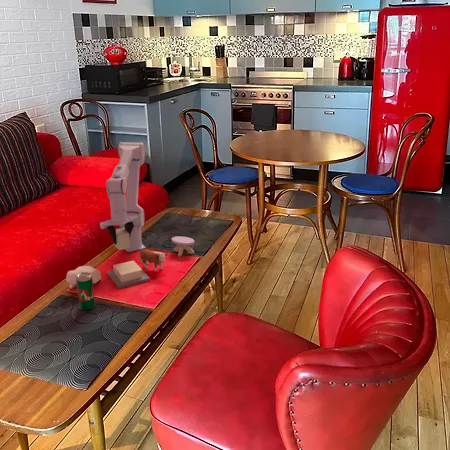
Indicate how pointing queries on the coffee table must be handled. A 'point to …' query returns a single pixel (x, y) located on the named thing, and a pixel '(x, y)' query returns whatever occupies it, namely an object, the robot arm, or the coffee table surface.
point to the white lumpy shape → (73, 274)
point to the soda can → (85, 291)
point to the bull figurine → (152, 258)
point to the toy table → (183, 244)
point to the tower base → (118, 283)
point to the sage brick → (122, 239)
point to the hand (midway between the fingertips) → (121, 242)
